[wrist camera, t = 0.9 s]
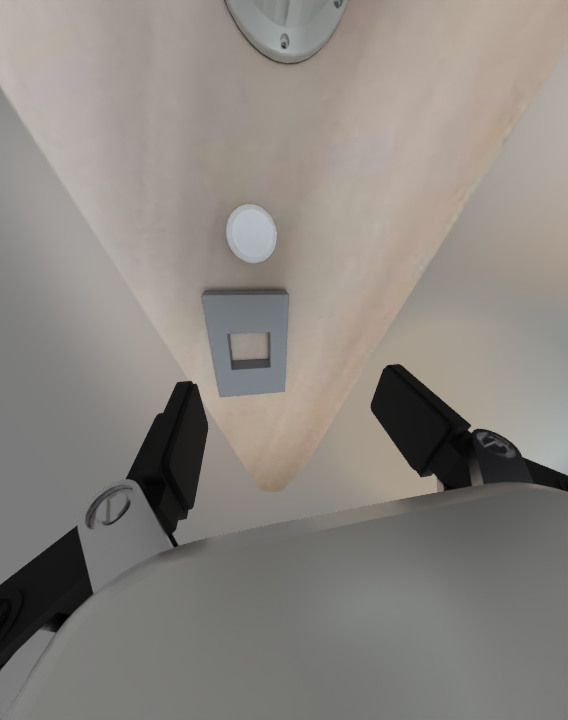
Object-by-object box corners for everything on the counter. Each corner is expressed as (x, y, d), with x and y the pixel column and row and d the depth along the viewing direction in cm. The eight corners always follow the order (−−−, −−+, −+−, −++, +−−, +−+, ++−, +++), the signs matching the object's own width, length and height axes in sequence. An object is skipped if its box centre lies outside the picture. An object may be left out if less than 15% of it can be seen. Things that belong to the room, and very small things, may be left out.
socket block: (205, 290, 29) (201, 295, 27) (285, 290, 31) (288, 294, 29) (221, 387, 39) (219, 397, 36) (282, 382, 40) (284, 391, 38)
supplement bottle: (234, 260, 28) (229, 269, 20) (225, 213, 25) (216, 200, 17) (272, 257, 29) (283, 264, 20) (268, 210, 26) (278, 196, 18)
